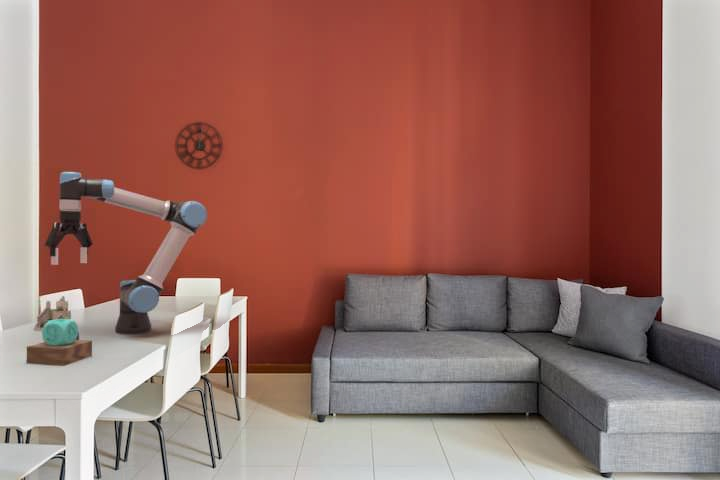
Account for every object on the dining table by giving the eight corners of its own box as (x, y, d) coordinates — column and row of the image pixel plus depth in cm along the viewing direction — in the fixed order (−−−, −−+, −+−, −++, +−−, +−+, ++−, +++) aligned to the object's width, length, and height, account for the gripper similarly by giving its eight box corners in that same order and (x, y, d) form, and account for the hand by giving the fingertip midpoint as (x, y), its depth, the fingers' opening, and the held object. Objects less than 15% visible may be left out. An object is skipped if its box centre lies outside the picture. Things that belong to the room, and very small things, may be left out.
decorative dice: (78, 341, 183) (78, 319, 183) (64, 346, 175) (64, 323, 175) (56, 340, 183) (56, 318, 183) (41, 345, 175) (41, 322, 175)
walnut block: (57, 354, 187) (57, 338, 187) (91, 357, 185) (92, 340, 185) (26, 364, 173) (26, 346, 173) (63, 367, 171) (63, 349, 171)
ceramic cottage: (37, 326, 237) (38, 294, 236) (77, 326, 242) (78, 295, 242) (27, 335, 222) (29, 301, 222) (70, 334, 228) (71, 301, 227)
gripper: (88, 212, 217) (87, 262, 218) (34, 209, 194) (33, 265, 194) (102, 212, 215) (101, 262, 215) (49, 209, 191) (48, 265, 192)
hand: (69, 264), depth 205 cm, fingers open, 13 cm apart
